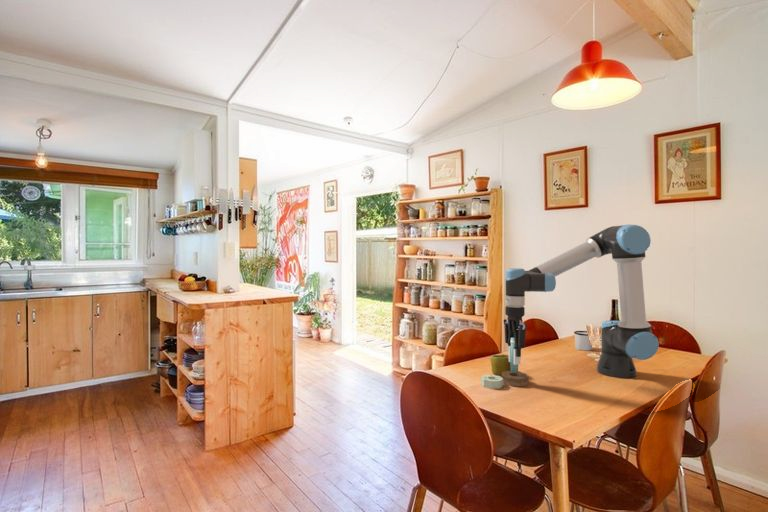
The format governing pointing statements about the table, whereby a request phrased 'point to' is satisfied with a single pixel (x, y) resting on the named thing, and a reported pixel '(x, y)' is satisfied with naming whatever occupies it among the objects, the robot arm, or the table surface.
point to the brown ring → (515, 379)
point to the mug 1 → (500, 364)
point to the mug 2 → (582, 341)
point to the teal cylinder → (513, 367)
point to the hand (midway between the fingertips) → (514, 362)
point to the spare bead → (492, 381)
